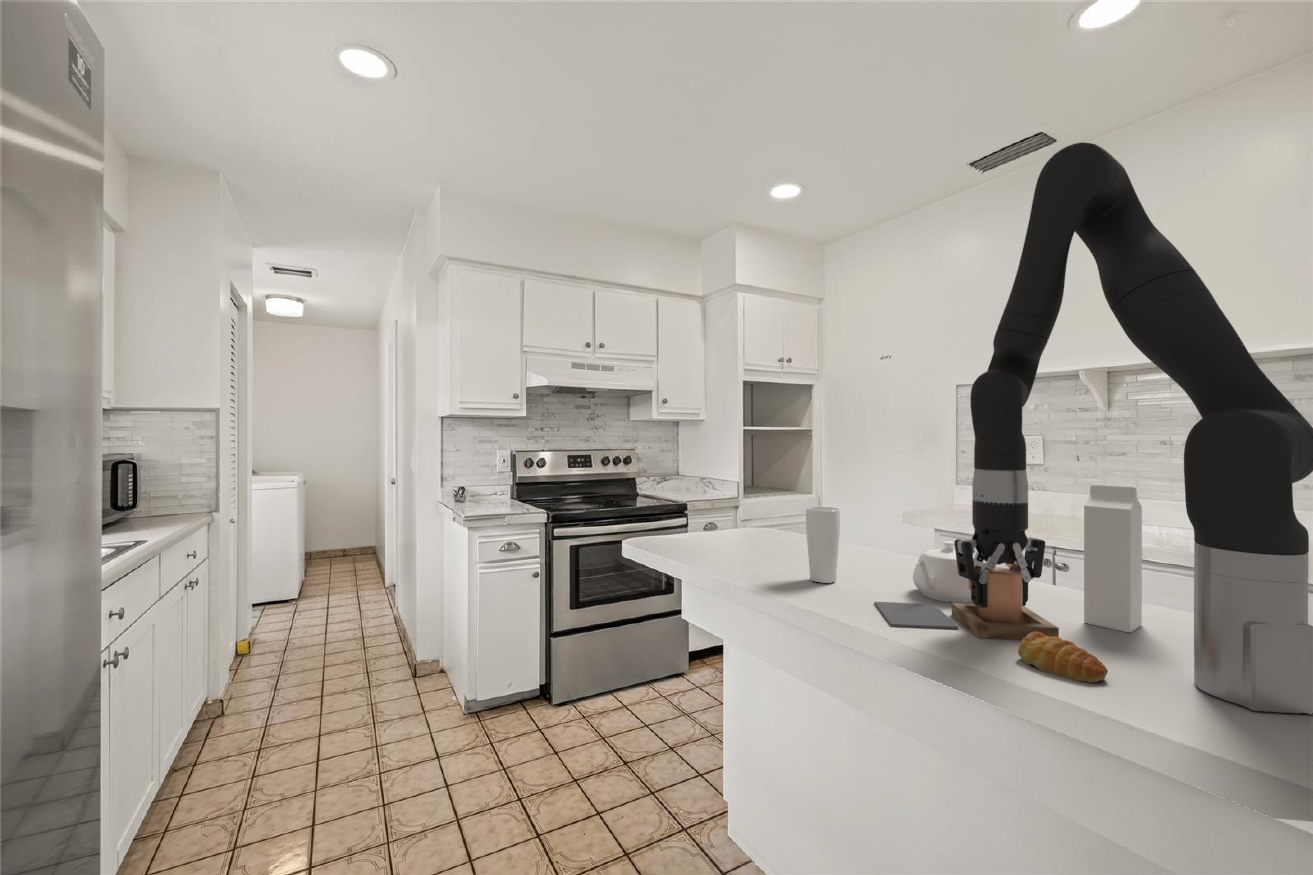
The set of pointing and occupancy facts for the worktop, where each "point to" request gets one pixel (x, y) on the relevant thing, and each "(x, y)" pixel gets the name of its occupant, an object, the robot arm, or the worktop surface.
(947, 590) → the teapot
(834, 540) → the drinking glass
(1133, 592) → the milk
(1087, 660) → the pastry
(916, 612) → the mat
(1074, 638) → the worktop surface
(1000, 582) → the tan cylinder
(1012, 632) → the wooden tray
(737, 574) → the worktop surface
